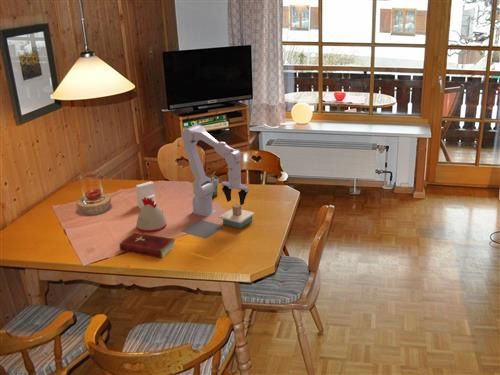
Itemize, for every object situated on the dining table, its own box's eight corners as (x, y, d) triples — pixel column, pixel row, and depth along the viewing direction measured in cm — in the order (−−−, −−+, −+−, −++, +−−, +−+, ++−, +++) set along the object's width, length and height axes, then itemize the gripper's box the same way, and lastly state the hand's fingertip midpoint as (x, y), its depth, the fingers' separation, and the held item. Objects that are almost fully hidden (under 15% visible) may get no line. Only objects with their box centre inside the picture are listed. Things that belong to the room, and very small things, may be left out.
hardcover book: (162, 259, 240) (161, 250, 238) (120, 251, 247) (119, 242, 246) (175, 247, 250) (175, 238, 249) (135, 239, 258) (134, 231, 256)
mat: (180, 232, 263) (180, 231, 263) (200, 220, 275) (200, 219, 274) (206, 239, 255) (205, 238, 255) (225, 227, 267) (225, 226, 267)
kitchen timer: (150, 218, 278) (147, 190, 273) (172, 224, 271) (170, 195, 266) (131, 229, 267) (127, 200, 261) (153, 235, 260) (151, 205, 255)
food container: (216, 200, 297) (215, 183, 294) (205, 200, 299) (204, 182, 295) (222, 192, 309) (221, 175, 305) (211, 191, 310) (210, 174, 306)
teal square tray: (223, 225, 269) (222, 217, 268) (235, 217, 277) (234, 210, 275) (240, 229, 264) (240, 221, 262) (252, 221, 272) (252, 214, 270)
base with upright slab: (143, 210, 288) (141, 188, 283) (135, 205, 294) (132, 183, 290) (159, 205, 293) (157, 184, 288) (150, 201, 299) (148, 179, 295)
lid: (219, 217, 267) (219, 207, 265) (234, 209, 277) (233, 199, 275) (240, 223, 261) (240, 212, 259) (254, 214, 270) (254, 204, 268)
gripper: (217, 175, 265) (218, 202, 270) (242, 181, 258) (243, 208, 262) (226, 171, 271) (226, 197, 276) (251, 176, 263) (251, 203, 268)
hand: (235, 202), depth 269 cm, fingers open, 7 cm apart
